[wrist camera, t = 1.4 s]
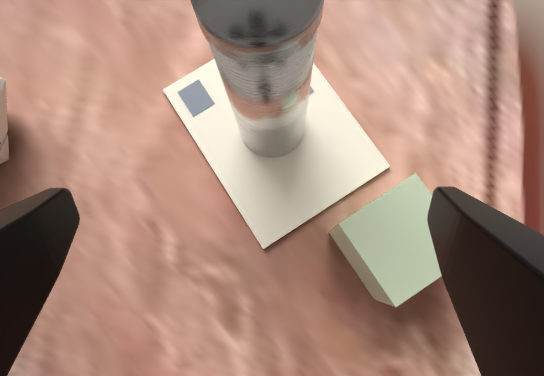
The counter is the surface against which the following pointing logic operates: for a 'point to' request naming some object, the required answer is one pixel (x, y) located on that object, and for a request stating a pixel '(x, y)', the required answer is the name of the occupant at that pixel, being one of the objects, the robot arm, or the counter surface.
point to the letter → (281, 170)
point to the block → (391, 243)
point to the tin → (264, 65)
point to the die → (3, 123)
